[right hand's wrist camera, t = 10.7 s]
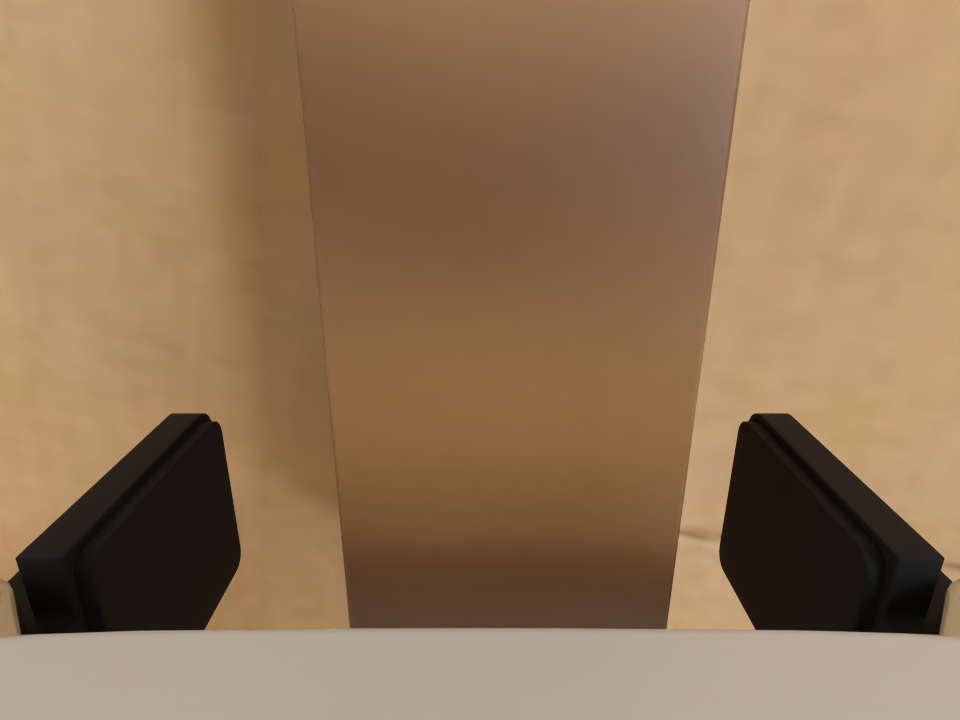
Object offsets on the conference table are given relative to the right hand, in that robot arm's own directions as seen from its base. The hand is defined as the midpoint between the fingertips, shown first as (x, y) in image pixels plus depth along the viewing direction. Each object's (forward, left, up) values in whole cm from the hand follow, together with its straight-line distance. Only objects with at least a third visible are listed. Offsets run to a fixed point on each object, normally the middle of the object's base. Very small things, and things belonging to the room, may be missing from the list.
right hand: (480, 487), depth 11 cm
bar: (+28, -6, -5) cm, 29 cm away
